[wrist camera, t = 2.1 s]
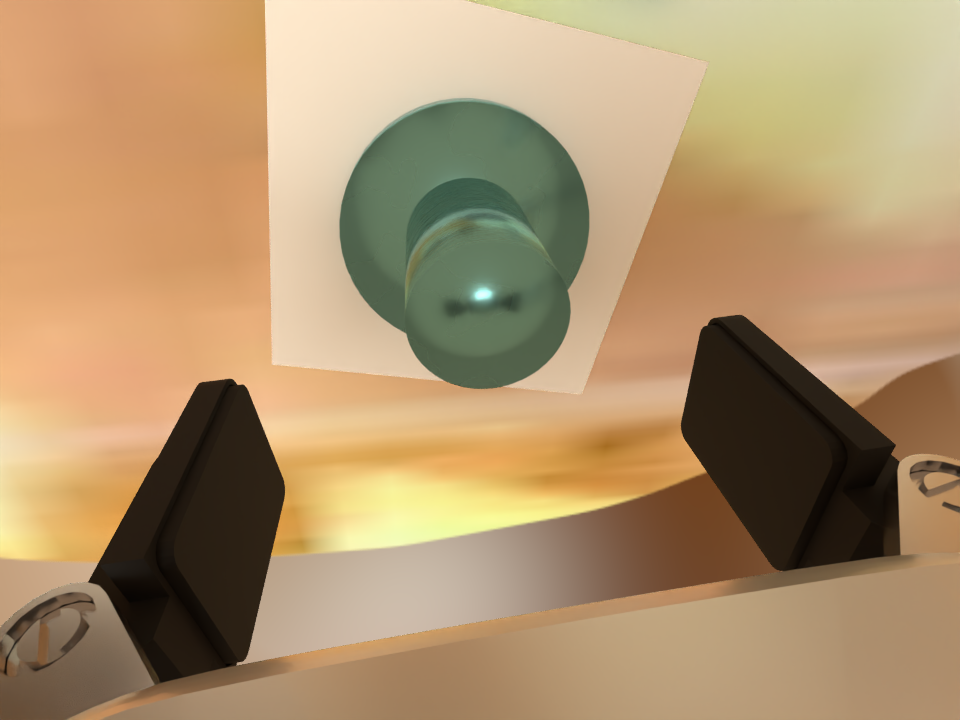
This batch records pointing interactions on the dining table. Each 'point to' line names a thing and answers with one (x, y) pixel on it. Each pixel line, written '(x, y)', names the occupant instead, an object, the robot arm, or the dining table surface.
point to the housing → (440, 76)
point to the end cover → (468, 238)
